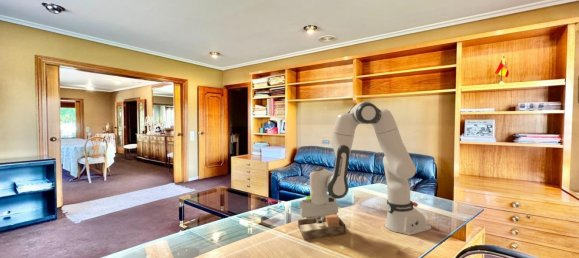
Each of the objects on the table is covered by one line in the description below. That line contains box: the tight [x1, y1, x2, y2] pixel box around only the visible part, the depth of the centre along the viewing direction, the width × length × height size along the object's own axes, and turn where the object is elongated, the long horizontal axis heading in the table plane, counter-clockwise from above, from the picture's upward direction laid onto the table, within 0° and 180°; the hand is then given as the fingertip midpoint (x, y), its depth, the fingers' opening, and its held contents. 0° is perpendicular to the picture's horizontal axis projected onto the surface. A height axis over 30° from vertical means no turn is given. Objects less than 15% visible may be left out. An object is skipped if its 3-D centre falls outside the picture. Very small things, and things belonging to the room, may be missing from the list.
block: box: [325, 214, 340, 227], centre depth 139 cm, size 6×5×4 cm
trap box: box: [297, 213, 347, 240], centre depth 138 cm, size 22×15×5 cm
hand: (319, 223), depth 138 cm, fingers closed
